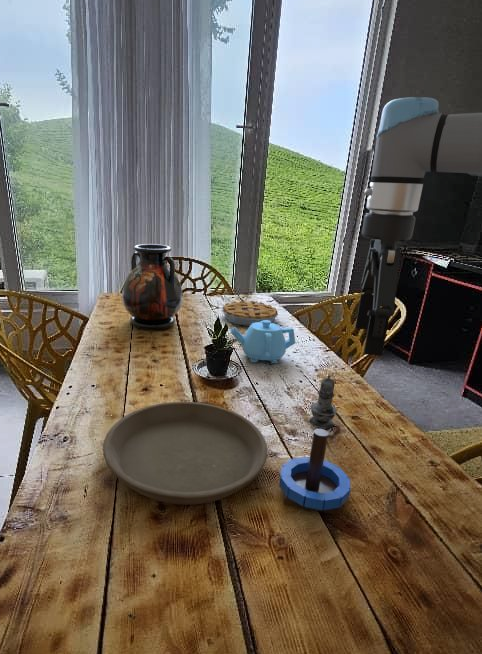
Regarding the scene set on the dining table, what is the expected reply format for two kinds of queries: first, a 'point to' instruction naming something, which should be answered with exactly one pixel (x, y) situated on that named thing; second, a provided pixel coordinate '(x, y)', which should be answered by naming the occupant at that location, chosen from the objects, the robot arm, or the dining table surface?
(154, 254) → the amphora vase
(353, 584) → the dining table surface
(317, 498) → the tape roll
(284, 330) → the teapot
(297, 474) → the peg stand
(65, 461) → the dining table surface
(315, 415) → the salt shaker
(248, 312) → the pie
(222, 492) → the plant saucer
